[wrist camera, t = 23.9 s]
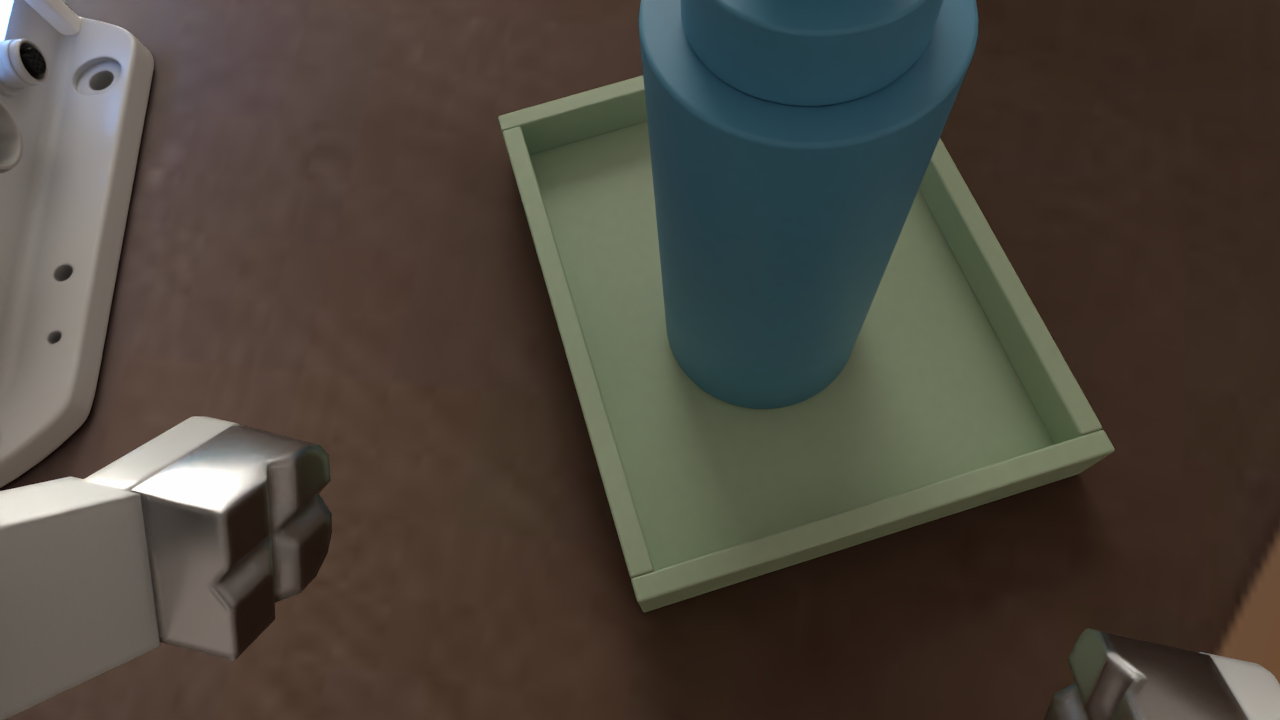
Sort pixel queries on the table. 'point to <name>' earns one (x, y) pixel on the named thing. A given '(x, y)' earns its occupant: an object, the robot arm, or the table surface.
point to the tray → (807, 431)
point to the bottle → (788, 173)
